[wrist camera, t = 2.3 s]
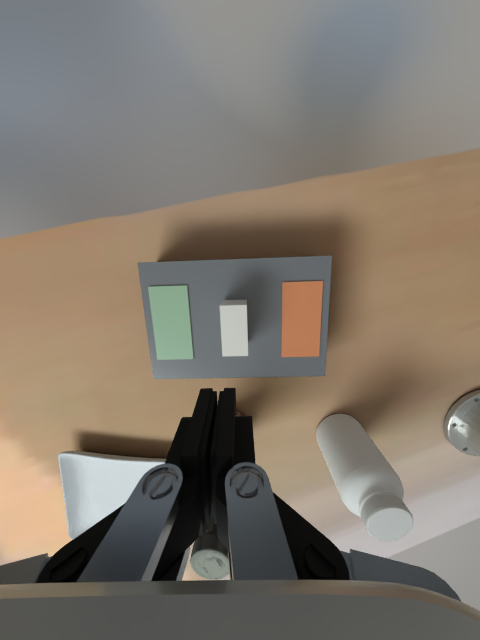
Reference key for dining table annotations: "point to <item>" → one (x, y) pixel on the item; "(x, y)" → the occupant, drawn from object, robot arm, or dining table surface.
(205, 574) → the sauce bottle
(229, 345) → the switch knob
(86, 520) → the salad plate
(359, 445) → the pill bottle
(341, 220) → the dining table surface
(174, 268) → the switch box
